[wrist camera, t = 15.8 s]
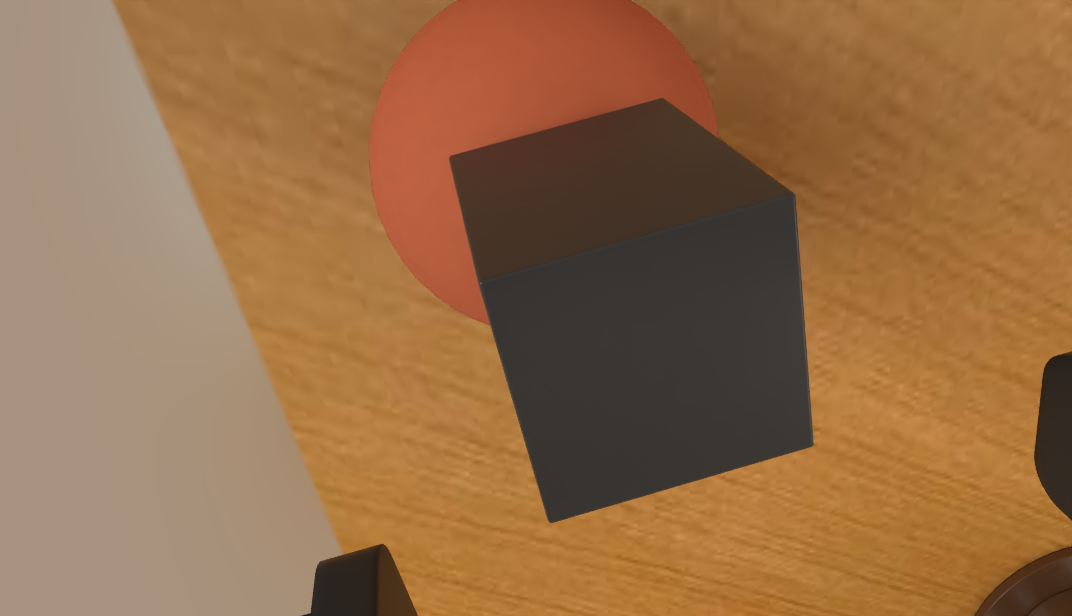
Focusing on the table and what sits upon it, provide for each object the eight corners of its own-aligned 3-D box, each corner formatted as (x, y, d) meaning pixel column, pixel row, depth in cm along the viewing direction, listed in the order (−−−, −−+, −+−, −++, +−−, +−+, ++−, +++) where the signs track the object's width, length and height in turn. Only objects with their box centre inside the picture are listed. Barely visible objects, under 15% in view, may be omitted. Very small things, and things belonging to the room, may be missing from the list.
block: (502, 342, 18) (549, 525, 13) (447, 155, 16) (477, 282, 11) (692, 289, 18) (815, 446, 13) (663, 96, 16) (797, 193, 11)
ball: (421, 265, 28) (432, 444, 19) (333, 0, 24) (296, 73, 15) (667, 198, 28) (792, 344, 20) (626, -77, 24) (762, -50, 15)
